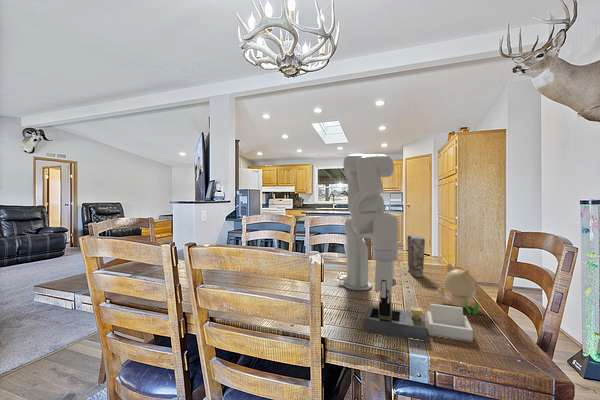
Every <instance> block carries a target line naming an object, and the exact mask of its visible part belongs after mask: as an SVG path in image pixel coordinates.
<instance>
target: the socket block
mask: <svg viewBox="0 0 600 400" xmlns="http://www.w3.org/2000/svg"><path fill="white" fill-rule="evenodd" d="M363 320H364V321H363V327H364V328H363V331H364V332H366V333H371V334H377V335H382V336H388V337H393V338H399V339H400V338H401V339H406V340H409V339H408V338H413V339H419V340H425V341H427V342H428V340H427V339H428V338H427V333H428V330H427V328H428V326H427V321H426V314H425V313H424V312H422V315H421V314H420V321H415V320H413V313H411V310H404V309H401V310H400V309H395V308H392V320H385V319H379V306H373V305H368V307H367V310H366V313H365V315H364V318H363Z"/></svg>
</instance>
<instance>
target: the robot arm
mask: <svg viewBox="0 0 600 400" xmlns="http://www.w3.org/2000/svg"><path fill="white" fill-rule="evenodd" d="M342 165H343V172H344V177H345V178H346V181H347V209H348V211H349V213H350V217H349V218H348V219H346V220H345V222H344V232H345V238H346V275H340V274H338V275H337V280H339V281H340V282H342V281H343V287H344V288H346V289H348V290H353V291H367V290H370V289H372V288H373V287H372V283H371V282H370V281H369V247H368V246H367V244H366V243H365V241H364V240H363V239H372V259H373V260H375V266H374V267H375V268H374V269H375V271H374V292H375V293H376V294H377V293H379V296H380V302H379V301H378V307H379V315H382V316H388V317H389V316H390V303H389V294H391V295H392V291H393V287H394V286H393V279H395V278H394V277H395V262H397V261H398V260H399V243H398V242H399V234H398V233H399V226H398V225H399V219H398V217H397V216H396V215H394V214H391V213H389V212H385V201H384V197H383V196H382V195H381V194H382V192H383V190H384V185H383V182H382V178H388V177H392V175H393V174H394V171H395V164H394V161H393V159H392V157H391V156H389V155H387V154H380V153H367V154H366V153H354V154H349V155H346V156H345V157H344V160H343V164H342ZM386 281H387V285H386ZM381 290H382V292H381ZM386 291H388V293H387V292H386ZM386 295H387V296H386Z"/></svg>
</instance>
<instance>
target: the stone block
mask: <svg viewBox="0 0 600 400" xmlns="http://www.w3.org/2000/svg"><path fill="white" fill-rule="evenodd" d="M406 239H407V240H406V241H407V242H406V243H407V245H406V246H407V266H408V273H409V274H410V275H412V276H413V277H416V278H423V275H424V265H425V263H424V262H425V248H426V247H425V245H426V244H425V243H426V239H425V238H424V237H421V236H420V235H413V234H412V235H411V234H408V235H407V238H406Z"/></svg>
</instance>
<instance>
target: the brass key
mask: <svg viewBox="0 0 600 400" xmlns="http://www.w3.org/2000/svg"><path fill="white" fill-rule="evenodd" d="M410 311H411V313H413V320H415V321H420V314H421V315H422V313H423V309H422V307H420V306H410Z"/></svg>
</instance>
